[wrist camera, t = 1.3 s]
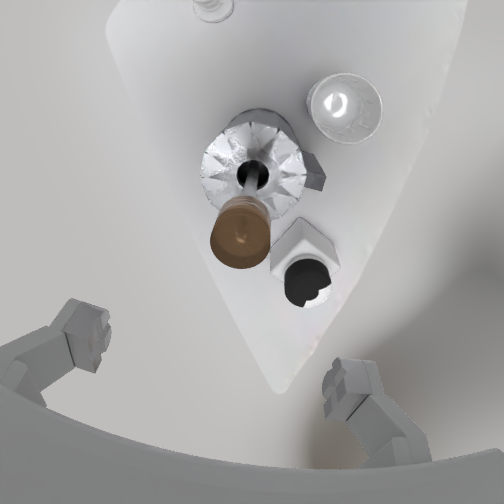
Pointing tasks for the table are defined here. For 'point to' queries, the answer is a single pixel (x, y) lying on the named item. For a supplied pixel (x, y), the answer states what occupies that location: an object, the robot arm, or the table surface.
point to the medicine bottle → (304, 264)
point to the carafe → (269, 153)
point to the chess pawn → (213, 9)
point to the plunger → (243, 222)
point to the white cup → (345, 108)
